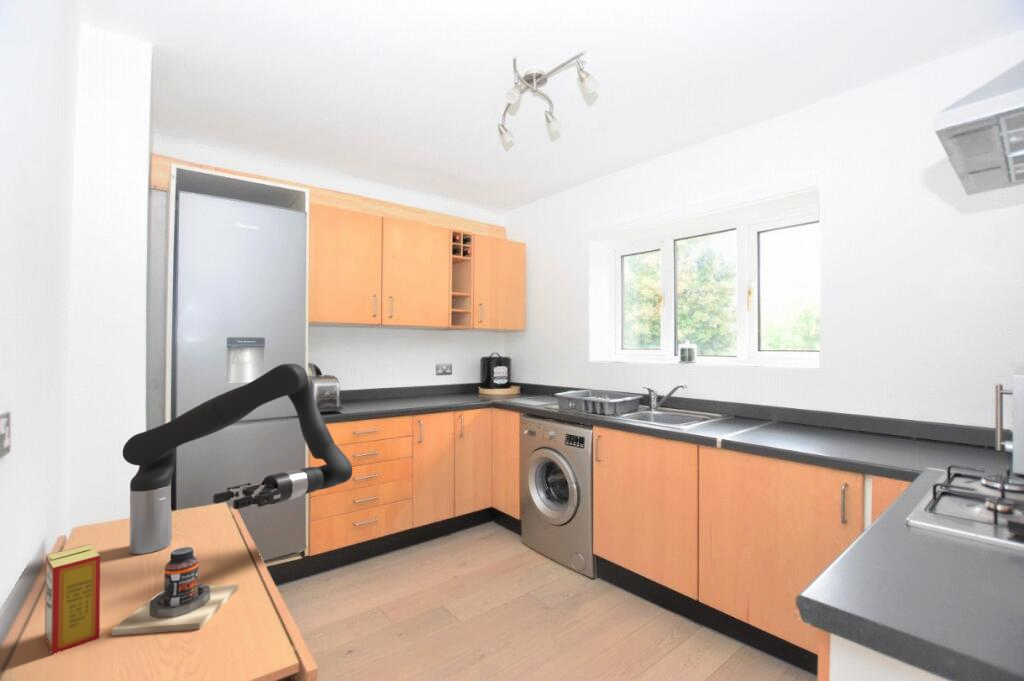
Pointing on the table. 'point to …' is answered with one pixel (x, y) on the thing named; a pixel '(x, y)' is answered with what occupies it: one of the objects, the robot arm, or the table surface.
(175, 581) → the supplement bottle
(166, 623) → the birch board
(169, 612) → the ring collar
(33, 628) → the table surface
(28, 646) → the table surface
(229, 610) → the table surface
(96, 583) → the baking soda box
